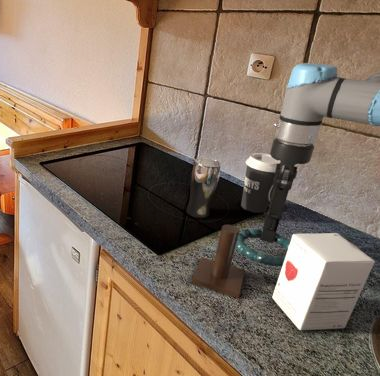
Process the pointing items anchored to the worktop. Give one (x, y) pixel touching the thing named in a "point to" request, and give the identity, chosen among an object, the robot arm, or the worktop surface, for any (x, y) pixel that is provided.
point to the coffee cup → (258, 182)
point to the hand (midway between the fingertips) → (267, 237)
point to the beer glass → (202, 186)
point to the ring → (259, 256)
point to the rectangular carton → (321, 280)
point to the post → (221, 266)
